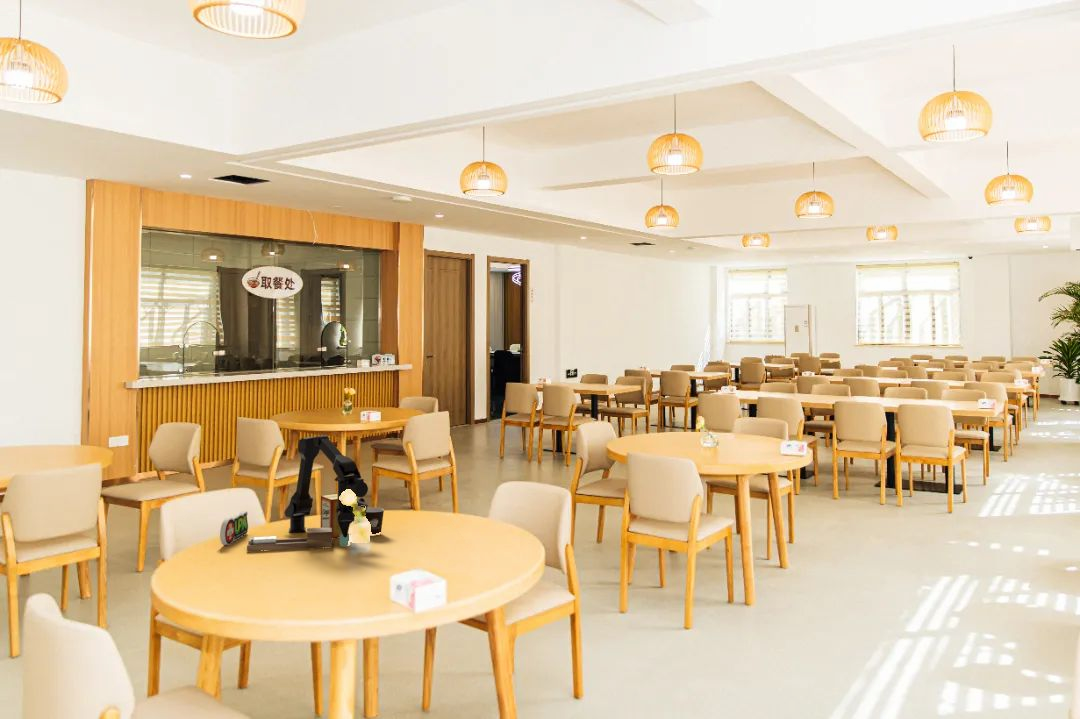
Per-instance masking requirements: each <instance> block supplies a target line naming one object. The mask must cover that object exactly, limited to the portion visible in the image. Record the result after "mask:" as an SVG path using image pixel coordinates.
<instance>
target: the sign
mask: <svg viewBox="0 0 1080 719" xmlns="http://www.w3.org/2000/svg"><path fill="white" fill-rule="evenodd" d="M248 515H249V514H248V511H241V512H239V513H238V514H235V515H233V516H231V517H230V518H229V517H226V518H224V520H223V521H222V523H221V526H220V531H219V533H220V534H219V540H220V543H221V544H222V545H223V546H230V545H232V544H233V542H236V541H237V539H238V540H239V539H241V538H242V537H244V536H246V535H247V534H248V531H249V524H248V523H249V522H248ZM245 534H246V535H245ZM243 535H244V536H243ZM240 537H241V538H240ZM231 543H232V544H231ZM229 544H230V545H229Z"/></svg>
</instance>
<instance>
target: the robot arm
mask: <svg viewBox="0 0 1080 719" xmlns="http://www.w3.org/2000/svg"><path fill="white" fill-rule="evenodd" d="M297 447H298V448H297V453H298V454H299V456H300V463H299V471H298V476H297V484H296V489H295V490H296V491H295V492H294V493H293V494H292V496H291V497H290V502H289V504H288V506H287V507H286V509H285V510H284V515H285V517H286V518H289V528H288V533H289V534H291V533H292V534H293V533H305V532H306V533H307V527H305V526H306V520H305V518H306V516H310V514H311V510H312V508H313V501H314V499H313V497H311V495H310V488H311V479H312V474H313V467H314V460H315V459H316V458H317V456H318V455H319V453H320V451H321V452H322V453H323V454H324V455H325V457H326V458H327V459H328V460H329V461H330V462H331V464H332V469H333V471H334V473H335V475H336V477H335V478H334V481H335V482H337V494H338V505H337V506H336V512H337V521H338V524H339V526H340V529H341V531H342V534H343V536H344V537H347V534H349V530H350V524H352V523H354V521H355V519H356V518H355V517H356V516H355V512H354V511H353V507H351V506H346V505H343V504H342V503H341V501H340V500H339V496H340V495H341V493H342V492H343V491H345V490H346V489H351V490H352V491H353V492H354V493H355V494H356V496H355V497H357V498H359V499H356V500H357V503H358V506H361V505H365V506H366V510H367V508H369V504H368V502H366V500H365V498H364V497H365V496H366V495H367V494H368V491H369V486H368V485H367V483H366V482H364V481H365V479H364V478H362V476H361V473H360V471H359V468H358V466H357V464H356V462H355V461H354V460H353V459H352V458H351V457H349V456H345V455H344V454H343V453H342V452H341V451H340V450H339V449H338V448H337V447H336V446H335V444H334V443H333V442H332V441H331V440H330V438H329V436H328V435H317V436H309V437H301V438H300V439H299V441H298V444H297ZM365 506H361V507H364V508H365ZM366 510H365V513H366ZM338 511H339V512H338ZM353 512H354V513H353Z"/></svg>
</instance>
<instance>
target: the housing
mask: <svg viewBox="0 0 1080 719" xmlns="http://www.w3.org/2000/svg"><path fill="white" fill-rule="evenodd" d="M332 540H333V539H332V528H331V527H326V528H321V527H310V528H309V527H308V528H307V527H306V537H295V538H294V537H293V538H280V539H279V538H277V541H276V543H273V544H254V545H250V540H248V544H247V545H246V552H247V551H259V552H265V551H264V550H277V551H293V550H292V549H296V550H310V548H314V549H326V548H325V547H332ZM323 547H324V548H323ZM290 549H291V550H290ZM261 550H263V551H261Z"/></svg>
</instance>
